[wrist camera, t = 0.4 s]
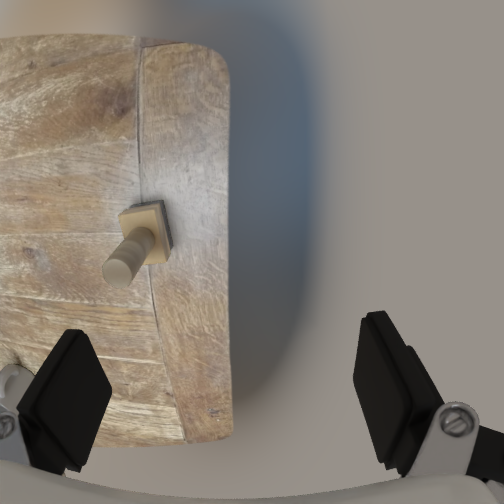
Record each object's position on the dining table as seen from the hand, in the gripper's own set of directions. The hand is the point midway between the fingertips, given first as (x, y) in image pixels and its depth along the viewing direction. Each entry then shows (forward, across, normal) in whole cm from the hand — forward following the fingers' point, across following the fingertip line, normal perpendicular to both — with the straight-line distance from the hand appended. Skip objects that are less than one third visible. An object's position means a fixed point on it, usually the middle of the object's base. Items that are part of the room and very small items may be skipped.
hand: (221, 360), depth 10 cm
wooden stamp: (+21, +9, +2) cm, 23 cm away
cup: (+22, +39, +24) cm, 51 cm away
